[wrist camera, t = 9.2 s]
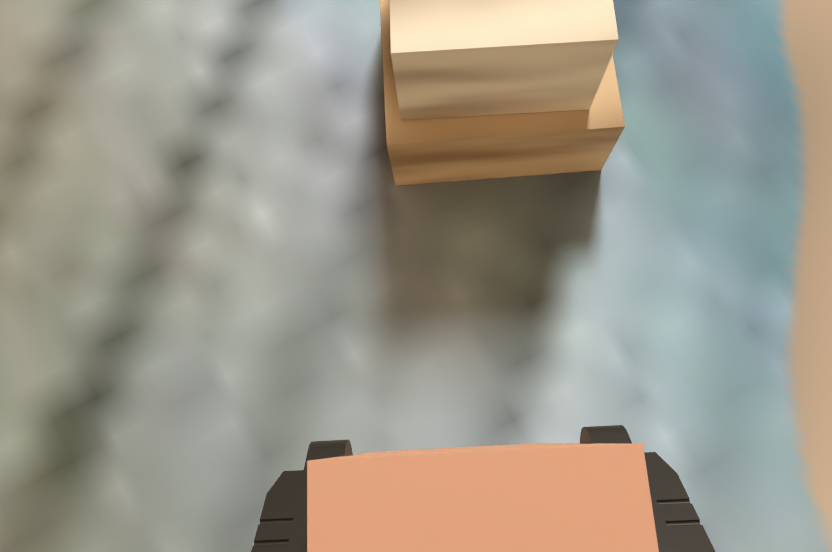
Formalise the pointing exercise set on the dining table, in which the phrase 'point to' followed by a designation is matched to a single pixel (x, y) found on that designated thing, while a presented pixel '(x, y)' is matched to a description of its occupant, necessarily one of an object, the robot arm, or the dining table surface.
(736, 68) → the dining table surface
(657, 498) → the robot arm
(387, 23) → the oak base slab
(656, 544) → the terracotta block
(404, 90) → the birch top slab
